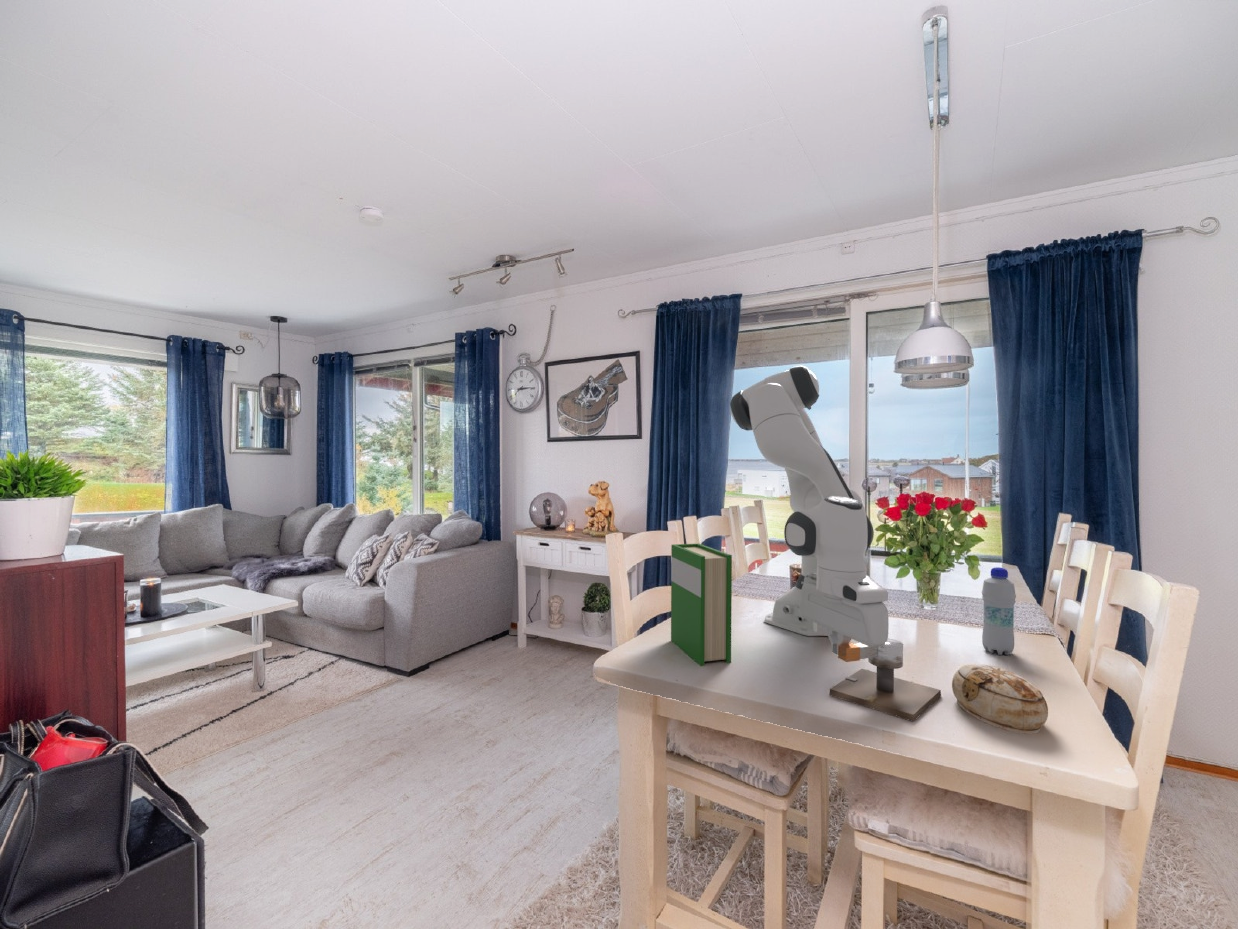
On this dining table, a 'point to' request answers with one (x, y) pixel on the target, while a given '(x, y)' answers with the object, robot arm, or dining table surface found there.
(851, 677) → the base
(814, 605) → the robot arm
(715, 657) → the hardback book
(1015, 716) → the trinket box
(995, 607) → the bottle
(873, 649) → the lever handle
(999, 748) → the dining table surface
